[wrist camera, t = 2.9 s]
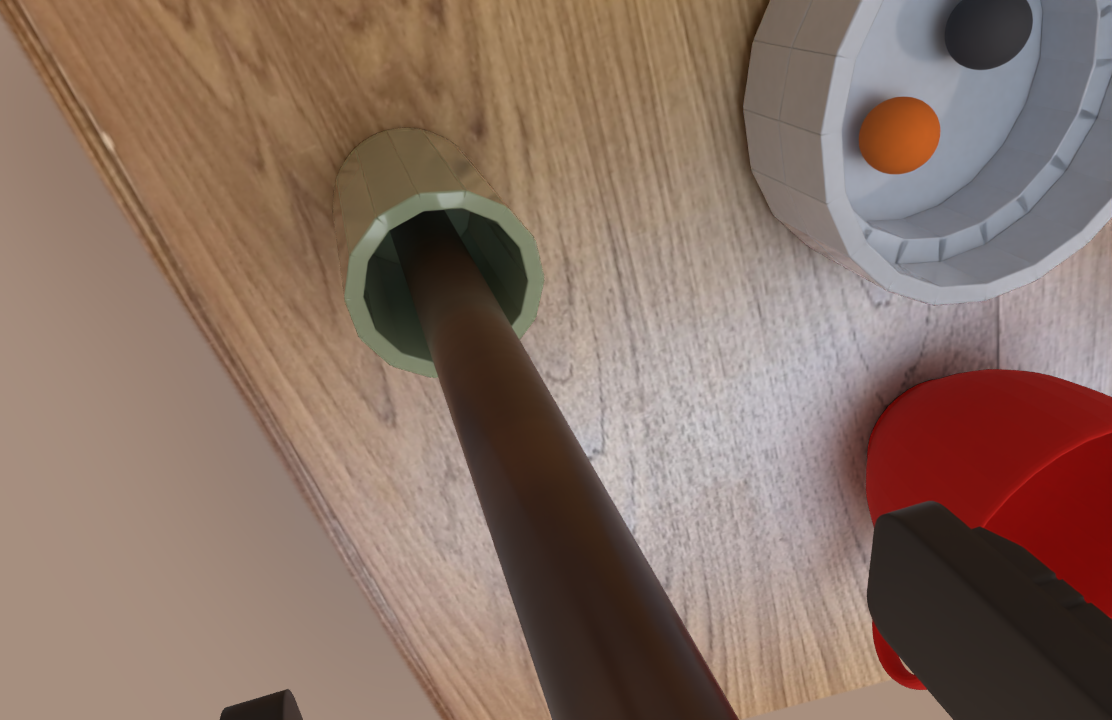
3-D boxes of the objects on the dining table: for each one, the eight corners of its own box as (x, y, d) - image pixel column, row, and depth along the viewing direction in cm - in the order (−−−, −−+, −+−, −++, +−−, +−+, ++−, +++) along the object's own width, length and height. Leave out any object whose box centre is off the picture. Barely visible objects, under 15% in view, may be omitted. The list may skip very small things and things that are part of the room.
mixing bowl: (661, 119, 31) (734, 151, 25) (942, -254, 27) (1090, -303, 22) (881, 314, 38) (972, 370, 33) (1122, 39, 35) (1263, 53, 30)
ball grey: (914, 33, 31) (969, 40, 29) (967, -33, 31) (1028, -32, 28) (952, 80, 33) (1008, 91, 30) (1003, 19, 32) (1065, 24, 30)
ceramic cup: (730, 557, 43) (838, 708, 34) (913, 285, 38) (1093, 382, 29) (887, 600, 48) (1014, 739, 40) (1064, 369, 43) (1252, 469, 35)
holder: (303, 222, 28) (304, 320, 21) (388, 94, 27) (423, 147, 20) (426, 296, 31) (468, 408, 23) (509, 182, 30) (581, 260, 22)
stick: (371, 213, 28) (561, 878, 8) (402, 167, 28) (688, 743, 7) (417, 242, 29) (693, 903, 9) (448, 199, 29) (812, 785, 8)
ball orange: (829, 137, 32) (875, 153, 30) (880, 75, 32) (931, 85, 29) (870, 179, 34) (917, 197, 31) (918, 121, 33) (971, 134, 31)
